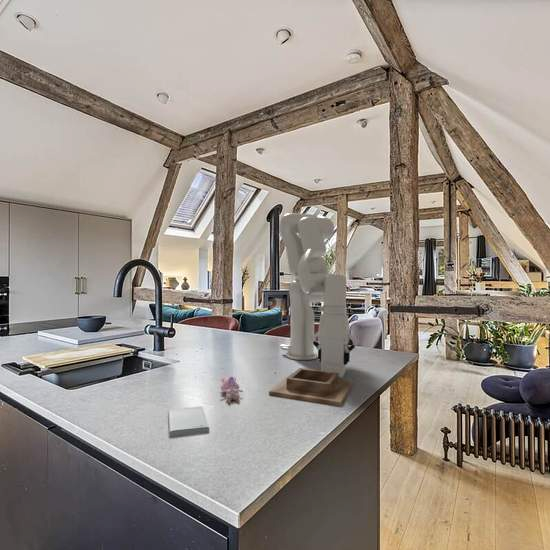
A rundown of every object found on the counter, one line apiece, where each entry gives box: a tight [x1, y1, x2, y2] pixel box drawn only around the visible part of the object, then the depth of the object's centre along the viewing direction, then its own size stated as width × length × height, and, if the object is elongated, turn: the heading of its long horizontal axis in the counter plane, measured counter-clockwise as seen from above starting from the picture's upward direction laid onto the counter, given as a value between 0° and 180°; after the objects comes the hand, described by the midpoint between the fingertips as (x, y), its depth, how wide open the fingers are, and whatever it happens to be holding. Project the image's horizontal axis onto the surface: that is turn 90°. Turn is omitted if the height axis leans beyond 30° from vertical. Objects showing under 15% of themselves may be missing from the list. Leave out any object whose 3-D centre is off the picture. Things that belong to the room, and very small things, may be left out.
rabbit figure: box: [219, 375, 244, 404], centre depth 99 cm, size 6×6×15 cm
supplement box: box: [320, 338, 346, 379], centre depth 121 cm, size 7×7×13 cm
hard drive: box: [167, 405, 210, 437], centre depth 81 cm, size 2×8×12 cm
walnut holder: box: [268, 367, 354, 407], centre depth 105 cm, size 20×20×4 cm
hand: (333, 362), depth 121 cm, fingers open, 7 cm apart
